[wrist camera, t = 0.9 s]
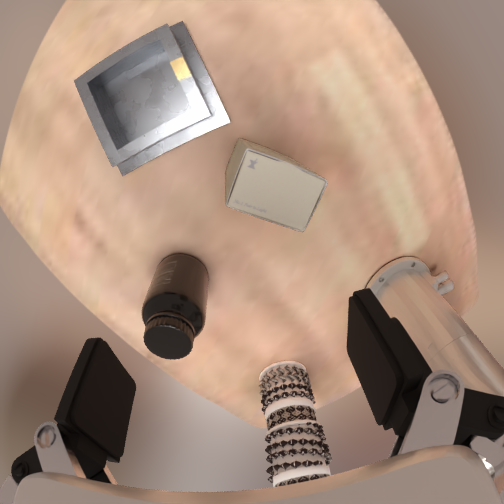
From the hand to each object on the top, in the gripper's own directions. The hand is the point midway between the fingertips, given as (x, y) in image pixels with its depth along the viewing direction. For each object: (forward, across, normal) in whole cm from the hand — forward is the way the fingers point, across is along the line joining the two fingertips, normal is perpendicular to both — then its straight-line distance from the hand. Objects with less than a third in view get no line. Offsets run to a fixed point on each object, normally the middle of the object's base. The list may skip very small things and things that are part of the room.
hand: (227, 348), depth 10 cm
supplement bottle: (+23, +8, +10) cm, 27 cm away
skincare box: (+23, -4, -2) cm, 24 cm away
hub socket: (+23, +6, -12) cm, 27 cm away
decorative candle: (+23, -2, +33) cm, 40 cm away
